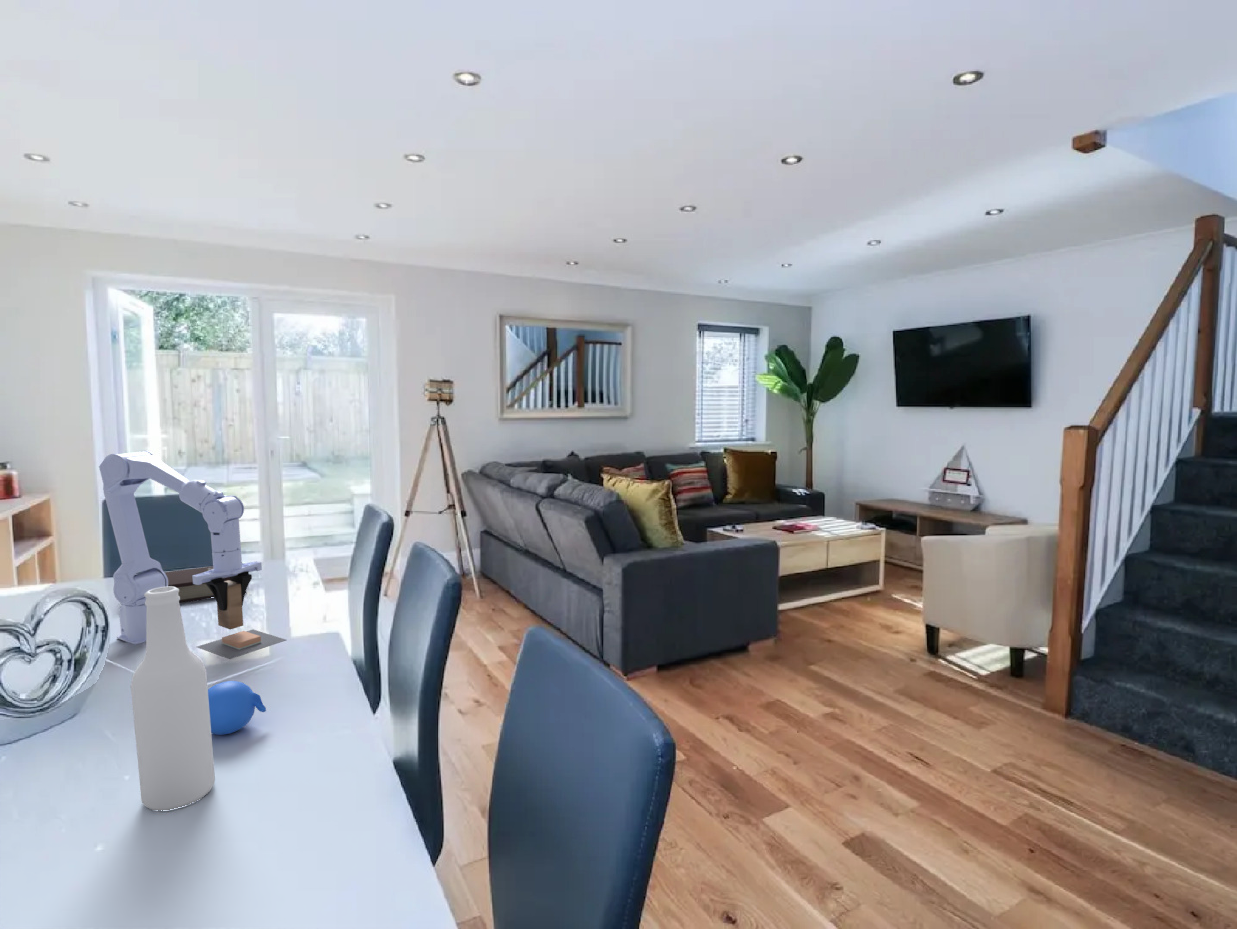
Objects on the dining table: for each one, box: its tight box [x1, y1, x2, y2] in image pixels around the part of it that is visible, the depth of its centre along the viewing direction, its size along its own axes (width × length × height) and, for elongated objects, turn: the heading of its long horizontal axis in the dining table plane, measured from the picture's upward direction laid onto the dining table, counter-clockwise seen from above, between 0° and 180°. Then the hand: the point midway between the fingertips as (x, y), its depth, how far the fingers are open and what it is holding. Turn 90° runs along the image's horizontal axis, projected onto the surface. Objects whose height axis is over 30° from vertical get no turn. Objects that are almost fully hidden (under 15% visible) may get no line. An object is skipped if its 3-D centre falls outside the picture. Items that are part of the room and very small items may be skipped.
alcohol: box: [130, 586, 216, 811], centre depth 94 cm, size 9×9×30 cm
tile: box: [221, 630, 261, 650], centre depth 154 cm, size 2×5×7 cm
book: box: [163, 565, 247, 604], centre depth 196 cm, size 28×20×6 cm
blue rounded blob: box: [208, 680, 267, 736], centre depth 116 cm, size 12×12×8 cm
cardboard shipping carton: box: [216, 580, 244, 630], centre depth 155 cm, size 5×3×10 cm, turn 58°
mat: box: [196, 629, 287, 660], centre depth 154 cm, size 14×13×1 cm
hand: (231, 607), depth 155 cm, fingers closed on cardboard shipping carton, 3 cm apart
